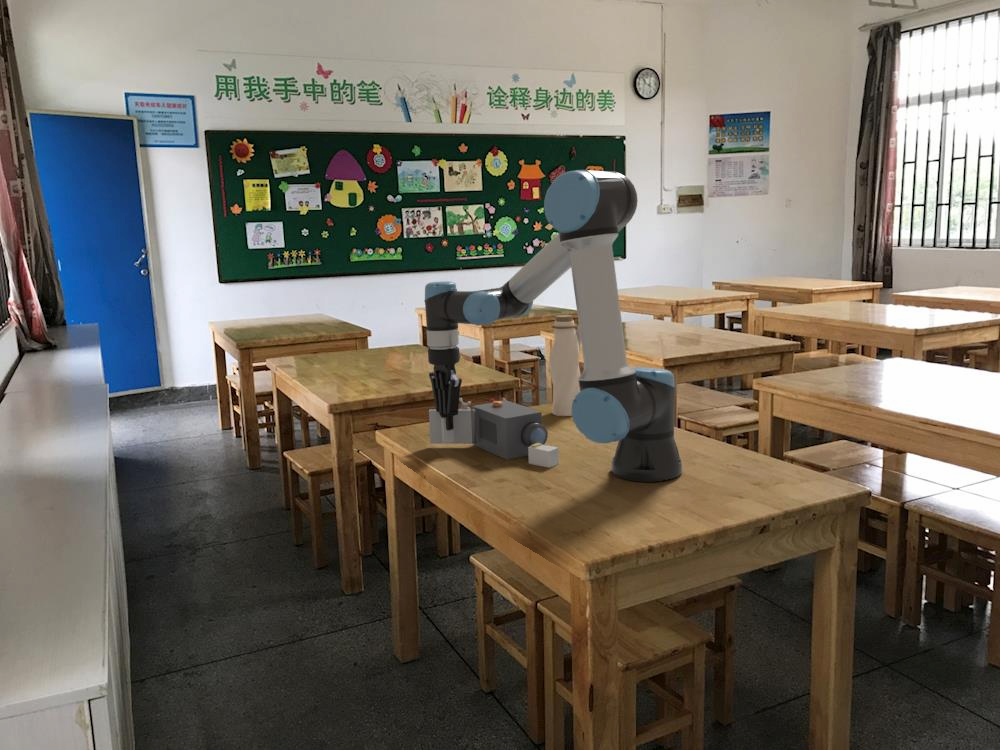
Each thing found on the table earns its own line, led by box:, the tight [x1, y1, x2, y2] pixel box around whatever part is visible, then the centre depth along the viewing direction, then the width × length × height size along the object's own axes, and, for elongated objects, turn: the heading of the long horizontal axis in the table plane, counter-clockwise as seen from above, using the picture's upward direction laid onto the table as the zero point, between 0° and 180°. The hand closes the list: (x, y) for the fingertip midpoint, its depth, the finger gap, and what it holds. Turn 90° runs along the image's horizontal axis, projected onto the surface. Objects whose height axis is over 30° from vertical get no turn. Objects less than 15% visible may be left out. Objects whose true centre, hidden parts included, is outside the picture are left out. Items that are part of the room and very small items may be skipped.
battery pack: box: [527, 443, 560, 469], centre depth 187 cm, size 6×4×4 cm, turn 50°
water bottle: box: [548, 314, 582, 417], centre depth 232 cm, size 10×9×28 cm
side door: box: [428, 408, 477, 445], centre depth 202 cm, size 12×2×8 cm, turn 82°
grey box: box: [471, 399, 549, 461], centre depth 198 cm, size 19×10×11 cm, turn 31°
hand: (448, 442), depth 199 cm, fingers closed
